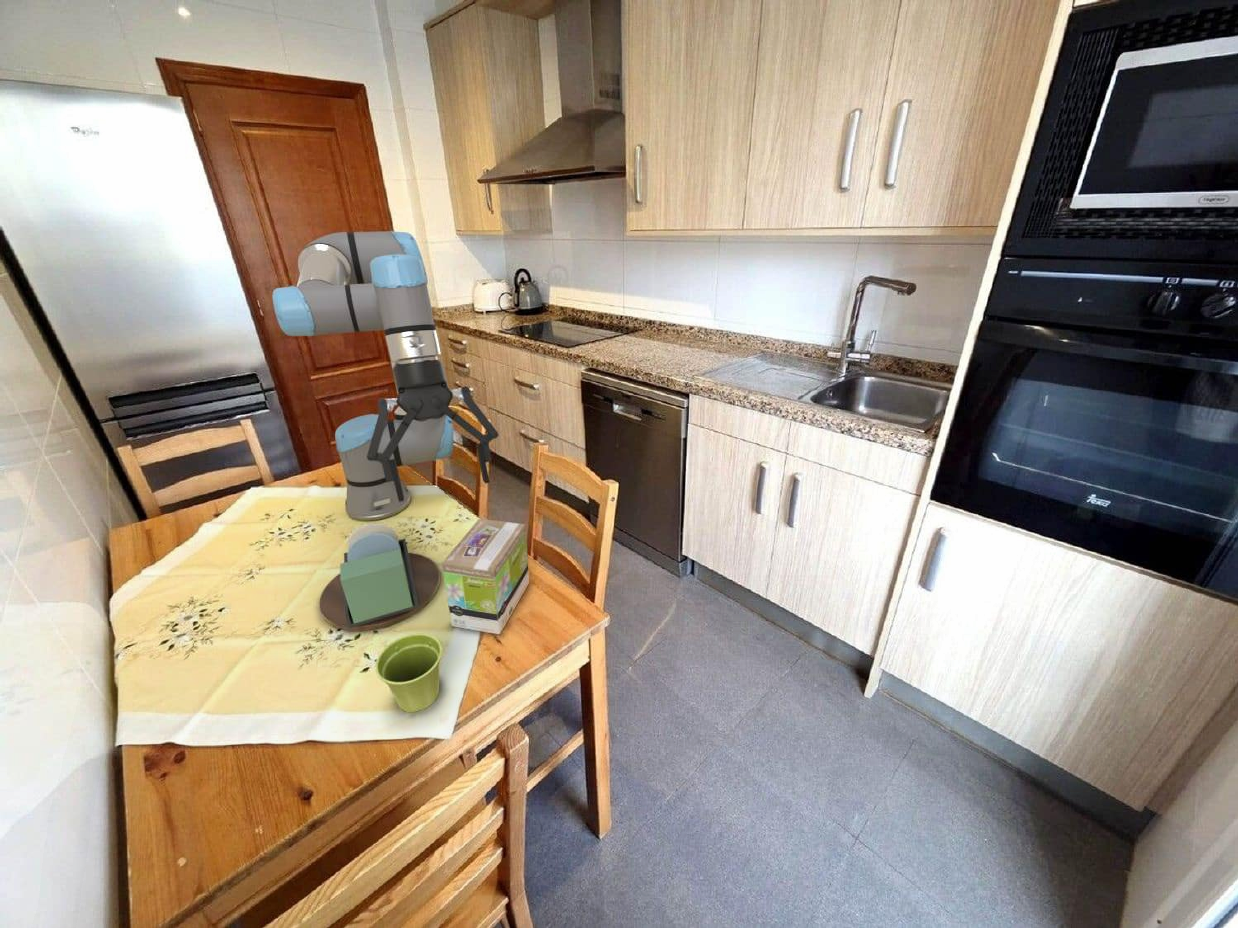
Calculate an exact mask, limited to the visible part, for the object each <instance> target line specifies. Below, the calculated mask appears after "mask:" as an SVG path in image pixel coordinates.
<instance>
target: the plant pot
mask: <svg viewBox="0 0 1238 928" xmlns="http://www.w3.org/2000/svg"><path fill="white" fill-rule="evenodd" d="M442 656H443V646H442V643H441V642H440V640H439V639H438V638H437V637H436V636H434V635H432V634H429V633H411V634H407V635H404V636H401V637H399V638H396V639H395V640H393V641H392V642H390V643H389V644H388V645H386V647H384V648H383V649H382V650H381V652H380V653H379V655H378V657H377V659H376V661H375V666H374V668H375V673H376V675H377V677H378V679H379V680H380V681H382V682H383V683H385V684H386V685H387V687H388V688H389V690H390V692H391V693H392V695H393V698H395V701H396V703H397V705H398V706H399V708H400V709H401V710H402V711H403V712H407V713H415V712H417V711H423V710H426V709H427V708H429V707H430V706H431V705H433V704H434V703H435V701H436V700H437V698H438V696H439V693H440V676H439V675H440V674H439V672H440V671H439V669H440V668H439V665H440V663H441V659H442Z"/></svg>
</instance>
